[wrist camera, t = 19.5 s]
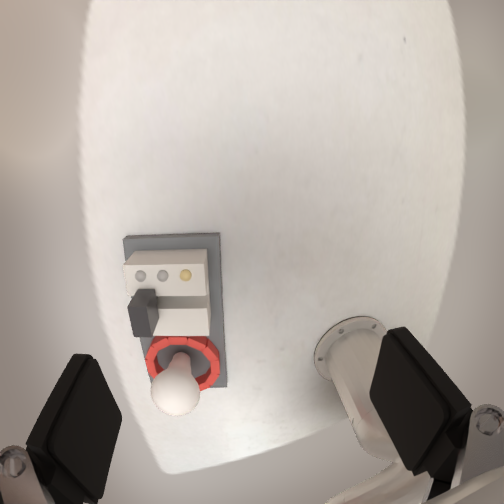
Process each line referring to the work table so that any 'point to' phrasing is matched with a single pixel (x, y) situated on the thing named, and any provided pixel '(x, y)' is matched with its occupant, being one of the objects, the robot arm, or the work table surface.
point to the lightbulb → (176, 387)
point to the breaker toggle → (143, 313)
